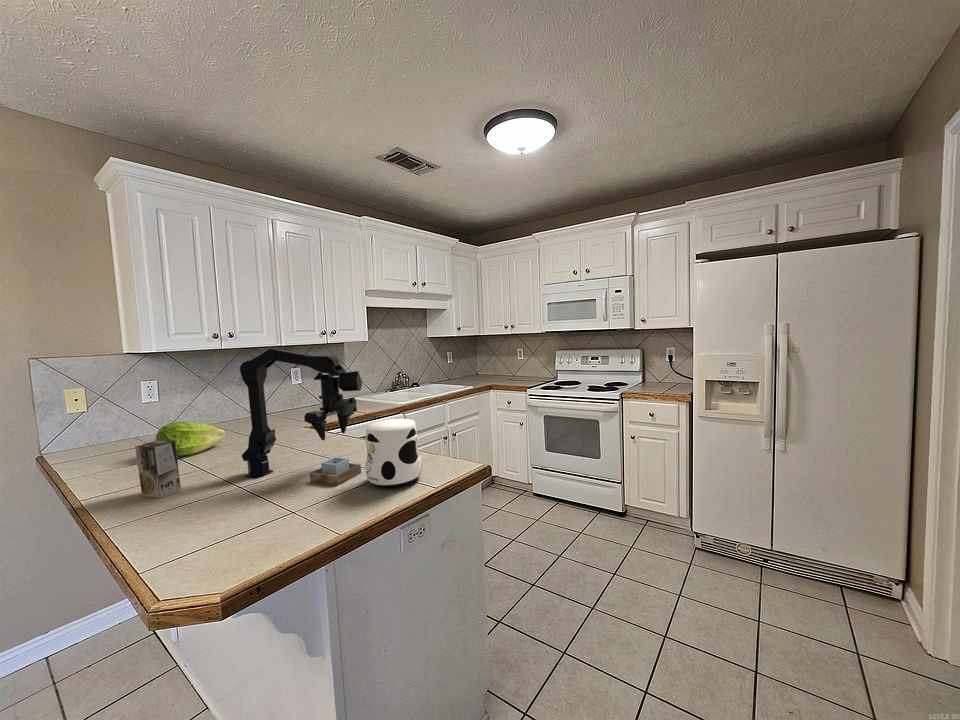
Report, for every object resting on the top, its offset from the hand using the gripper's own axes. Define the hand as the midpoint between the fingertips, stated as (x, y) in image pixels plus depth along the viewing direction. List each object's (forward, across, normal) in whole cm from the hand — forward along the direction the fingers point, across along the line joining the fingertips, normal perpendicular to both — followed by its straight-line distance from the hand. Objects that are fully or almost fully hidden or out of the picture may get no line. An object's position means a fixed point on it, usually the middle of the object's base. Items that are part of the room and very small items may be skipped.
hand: (333, 436), depth 138 cm
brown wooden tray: (+12, -6, -6) cm, 14 cm away
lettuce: (+13, -1, +79) cm, 80 cm away
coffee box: (+12, -33, +40) cm, 54 cm away
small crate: (+11, -6, -6) cm, 14 cm away
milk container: (+12, -2, -27) cm, 29 cm away
